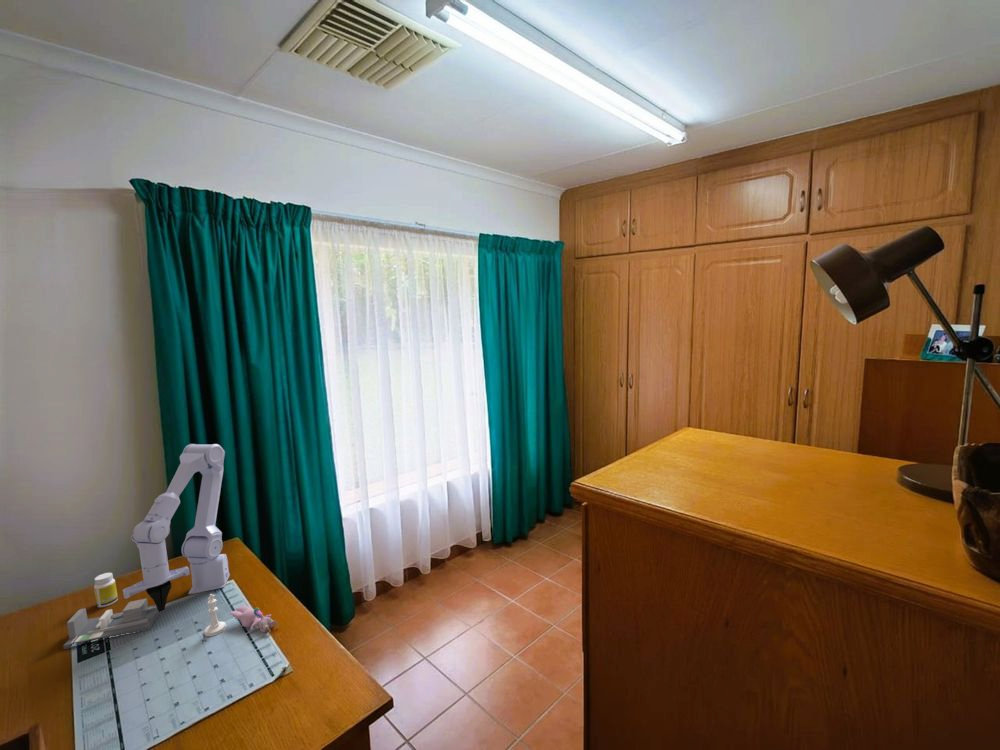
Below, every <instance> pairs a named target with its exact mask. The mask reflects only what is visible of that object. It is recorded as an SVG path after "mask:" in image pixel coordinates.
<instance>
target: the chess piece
mask: <svg viewBox="0 0 1000 750" xmlns="http://www.w3.org/2000/svg"><path fill="white" fill-rule="evenodd" d="M215 597H216V594H213V593H210V594H209V597H207V600H208V601H207V605H208V607H209V609H208V610H207V612H208V613H209V614H210V624H209V625H208V626H207V627H205V629H204V636H206V637H212V636H217V635H219V634H221V633H222V632H224V631H225V630H226V628H227V624H226V622H225V621H219V619H218V616H217V612H216V611H218V610H219V608H218V607H217V606H216V605H217V601H218V600H217V599H216V598H215Z"/></svg>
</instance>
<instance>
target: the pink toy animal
mask: <svg viewBox="0 0 1000 750" xmlns="http://www.w3.org/2000/svg"><path fill="white" fill-rule="evenodd" d="M229 614H230V615H231V616H232V617H233V618H235V619H237V620H238V621H240V622H241V625H242V627H244V628H249V627H250V629H249V630H250V631H253V629H254V627H258V628H259V631H260V632H261V633H266V632H268V635H271V633H272V631H271V629H272V628H273V627H274V626H275V624H276V627H275V629H279V627H280V626H279V622H277V621H276V620H273V618H271V617H272V614H266V615H265V616H264V614H263V612H262V611H261V610H260V608H259V606H257V607H255V608H250V607H249V606H247V605H241V606H238V607H236V608H235V609H234V611H233V610H232V611H230V612H229Z"/></svg>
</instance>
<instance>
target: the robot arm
mask: <svg viewBox="0 0 1000 750" xmlns="http://www.w3.org/2000/svg"><path fill="white" fill-rule="evenodd" d="M225 456H226V451H225V449H224V448H223V447H222V446H221V445H220V444H218V443H213V444H197V443H189V444H188V445H186V446H185V447H184V449H183V451H182V453H181V454H180V456H179V461H180V464H179V465H178V467H177V470H176V471H175V474H174V475H173V478H172V479H171V482H170V483H169V485H168V487H167V489H166V491H165V492H164V493H161V494H159V495H158V496H157V497H155V499H154V501H153V502H154V503H153V504H152V506H151V507H150V509H149V511H148V512H147V514H146V516H145V517H144V519H143V520H142V521H141V522H139V523H137V524H136V525H135V526H134V528H133V530H132V534H131V535H130V538H131V540H132V542H134V543H135V544H136V548H137V549H138V551H139V558H140V565H141V571H142V578H143V580H141V581H138V582H136V583H135V584H132V585H131V586H128V587H125V588H123V589H122V595H123V598H124V599H126V600H127V599H129V598H131V596H134V595H136V594H139V593H142V592H144V591H145V592H146V593H147V594H148V596H149V597H150V599H152V600H153V602H154V605H156V607H157V610H158V611H159V612H160V613H162V612H164V611H165V610H166V604H167V600H168V599H167V598H168V595H169V593H170V592H171V589H172V582H171V581H174V580H176V579H179V578H182V577H187V576H189V575H190V574H191V581H192V583H191V584H192V586H191V588H190V589H189V591H188V593H187V594H188V595H189V596H191V595H194V594H199V593H203V592H207V591H214V590H217V589H218V590H219V589H222V588H225V587H226V584H227V582H228V580H229V578H230V575H231V574H230V570H229V560H228V556H227V554H226V553H221V552H222V550H223V540H222V539H223V538H222V536H223V532H222V531H221V530H220V529H219V528H218V527H217V526H216V524H217V523H216V521H217V515H218V509H219V502H220V496H221V488H222V481H223V476H224V470H225V469H224V464H225V463H224V462H225V461H224V460H225ZM198 472H199V473H200V474H201V475H202V476H201V477H202V478H201V483H200V489H199V495H198V501H197V502H198V503H197V508H196V514H195V521H194V526H193V527H192V528H191V529H190V530H188V532H187V533H186V536H185V539H184V541H183V543H182V545H181V554H182V556H183V557H184V558H187V561H188V562H189V567H188V566H187V565H185V566H183V567H180V568H176V569H172V570H170V567H169V560H168V559H169V558H168V552H167V543H166V538H167V537H168V535H169V534H170V532H171V531H170V529H171V528H170V525H171V523H172V522H171V520H172V518H173V516H174V515H175V513H176V511H177V510H178V507H179V506H180V504H181V500H180V495H181V494H182V493H183V491H184V489H185V488H186V487H187V485H188V483H189V482H190V480H192V478H193V476H194V474H195V473H198Z"/></svg>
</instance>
